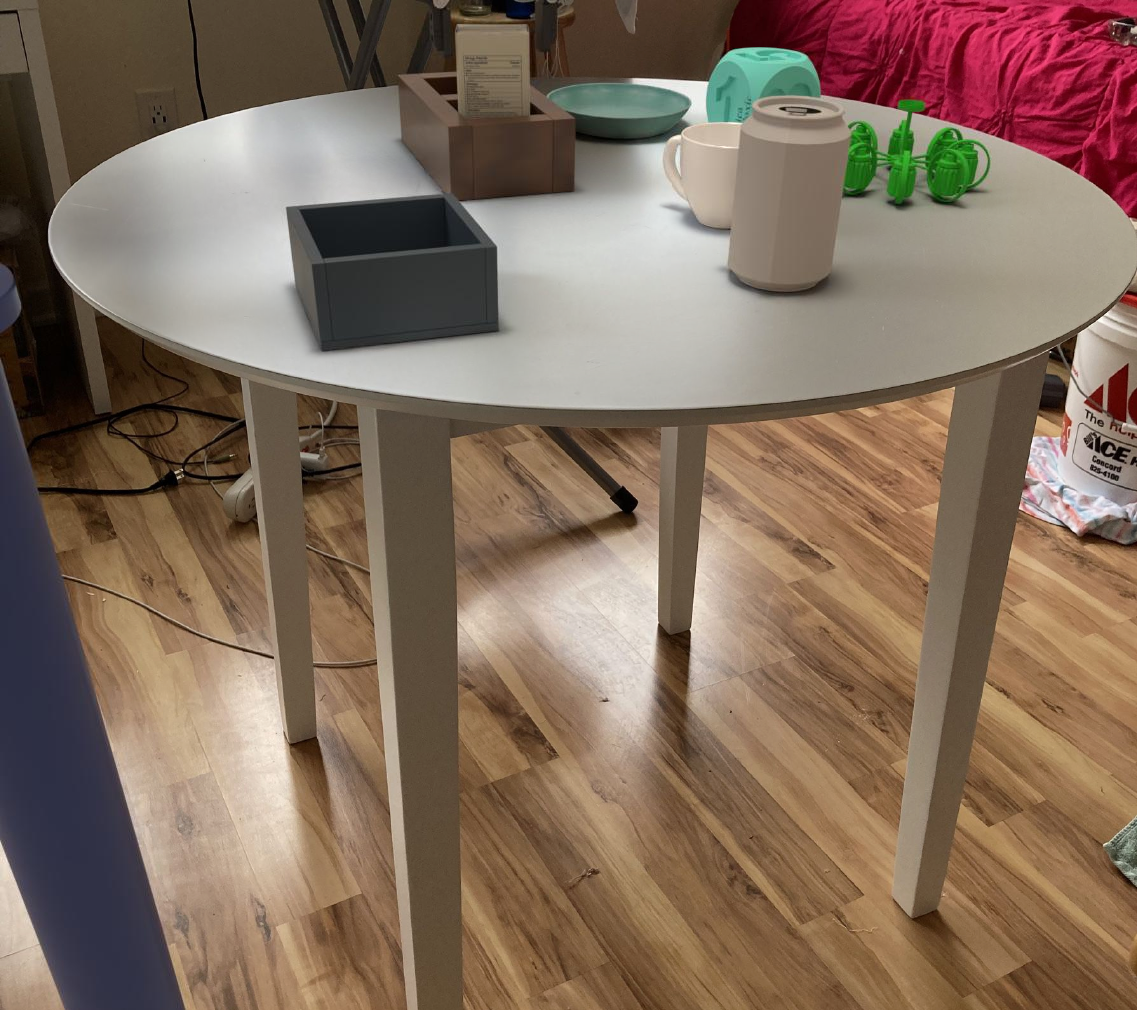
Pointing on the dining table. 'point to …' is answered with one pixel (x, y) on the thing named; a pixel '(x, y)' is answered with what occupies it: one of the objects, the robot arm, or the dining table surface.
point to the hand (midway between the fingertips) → (494, 53)
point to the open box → (393, 270)
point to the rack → (485, 142)
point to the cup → (706, 170)
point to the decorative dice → (757, 81)
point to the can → (788, 192)
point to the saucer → (621, 109)
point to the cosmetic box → (492, 70)
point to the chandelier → (941, 157)
